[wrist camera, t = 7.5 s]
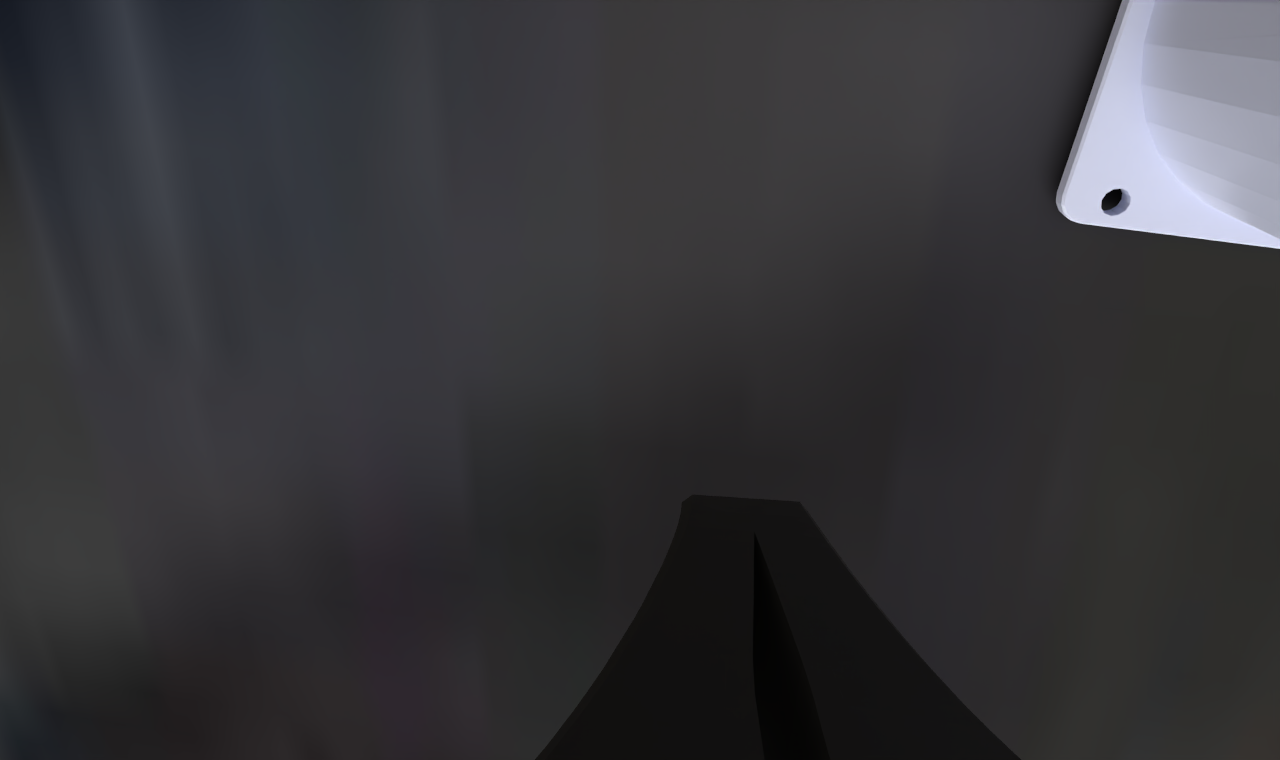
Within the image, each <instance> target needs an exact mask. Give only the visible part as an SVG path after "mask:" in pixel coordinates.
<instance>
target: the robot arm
mask: <svg viewBox="0 0 1280 760" xmlns="http://www.w3.org/2000/svg"><path fill="white" fill-rule="evenodd" d="M1113 189H1121V191H1122V199H1121V201H1120V202H1119V203H1118V205H1117V206H1116V207H1114V208H1112V209H1111V210H1105V211H1103V210H1102V208H1101V203H1102V199H1103V198H1104V196H1105V195H1106V194H1107V193H1108V192H1110V191H1111V190H1113ZM1056 203H1057V207H1058V210H1059V211H1060V212H1061V213H1062V214H1063V215H1064V216H1065V217H1067V218H1068V219H1069V220H1071V221H1074V222H1077V223H1081V224H1089V225H1097V226H1105V227H1113V228H1121V229H1128V230H1136V231H1144V232H1152V233H1160V234H1168V235H1176V236H1184V237H1192V238H1200V239H1208V240H1215V241H1223V242H1231V243H1239V244H1247V245H1255V246H1263V247H1271V248H1279V249H1280V0H1122V2H1121V5H1120V8H1119V11H1118V14H1117V17H1116V20H1115V23H1114V26H1113V29H1112V32H1111V35H1110V38H1109V41H1108V44H1107V46H1106V49H1105V52H1104V55H1103V58H1102V61H1101V64H1100V67H1099V70H1098V73H1097V76H1096V79H1095V82H1094V85H1093V88H1092V91H1091V94H1090V96H1089V99H1088V102H1087V105H1086V108H1085V111H1084V114H1083V117H1082V120H1081V123H1080V126H1079V129H1078V132H1077V135H1076V138H1075V141H1074V143H1073V146H1072V149H1071V152H1070V155H1069V158H1068V161H1067V164H1066V167H1065V170H1064V173H1063V176H1062V179H1061V182H1060V185H1059V188H1058V190H1057V196H1056ZM535 760H1021V759H1020V758H1019V757H1018V756H1017V755H1016V754H1014V753H1013V752H1012V751H1011V750H1010V749H1009V748H1008V747H1007V746H1006V745H1005V744H1004V743H1003V742H1002V741H1001V740H1000V739H998V738H997V737H996V736H995V735H994V734H993V733H992V732H991V731H990V730H989V729H988V728H987V727H986V726H985V725H984V724H983V723H982V722H981V721H980V720H979V719H978V718H977V717H976V716H975V715H974V714H973V713H972V712H971V711H970V710H969V709H968V708H967V707H966V706H965V705H964V704H963V703H962V702H961V701H960V700H959V699H958V697H957V696H956V695H955V694H954V693H953V692H952V691H951V690H950V689H949V688H948V687H947V685H946V684H945V683H944V682H943V681H942V680H941V679H940V678H939V677H938V676H937V675H936V673H935V672H934V671H933V670H932V669H931V668H930V667H929V666H928V665H927V664H926V662H925V661H924V660H923V659H922V658H921V657H920V656H919V654H918V653H917V652H916V651H915V650H914V649H913V648H912V646H911V645H910V644H909V643H908V642H907V641H906V639H905V638H904V637H903V636H902V635H901V633H900V632H899V631H898V630H897V629H896V627H895V626H894V625H893V624H892V622H891V621H890V620H889V619H888V618H887V616H886V615H885V614H884V613H883V611H882V610H881V609H880V608H879V607H878V605H877V604H876V603H875V602H874V600H873V599H872V598H871V597H870V596H869V594H868V593H867V592H866V590H865V589H864V588H863V587H862V585H861V584H860V583H859V581H858V580H857V579H856V577H855V576H854V575H853V573H852V572H851V571H850V569H849V568H848V567H847V565H846V564H845V563H844V561H843V560H842V559H841V557H840V556H839V555H838V553H837V552H836V551H835V549H834V548H833V547H832V545H831V544H830V542H829V541H828V540H827V538H826V537H825V535H824V534H823V533H822V531H821V530H820V528H819V527H818V525H817V524H816V523H815V521H814V520H813V518H812V517H811V516H810V514H809V513H808V511H807V510H806V509H805V508H804V507H803V506H802V504H801V503H800V502H794V501H779V500H764V499H749V498H734V497H719V496H704V495H692V496H690V497H689V498H687V499H686V500H685V501H683V502H682V508H681V515H680V519H679V523H678V526H677V529H676V533H675V535H674V538H673V541H672V543H671V546H670V548H669V550H668V553H667V555H666V558H665V560H664V562H663V565H662V567H661V569H660V571H659V573H658V574H657V576H656V578H655V580H654V582H653V584H652V586H651V588H650V590H649V592H648V594H647V596H646V598H645V600H644V602H643V604H642V606H641V608H640V610H639V611H638V613H637V615H636V617H635V618H634V620H633V622H632V623H631V625H630V626H629V628H628V630H627V631H626V633H625V634H624V636H623V638H622V639H621V641H620V643H619V644H618V646H617V647H616V649H615V651H614V652H613V654H612V656H611V657H610V659H609V660H608V662H607V664H606V665H605V667H604V668H603V670H602V671H601V673H600V674H599V676H598V677H597V679H596V680H595V681H594V683H593V684H592V686H591V687H590V689H589V690H588V692H587V693H586V694H585V696H584V697H583V699H582V700H581V701H580V703H579V704H578V706H577V707H576V708H575V710H574V711H573V712H572V714H571V715H570V716H569V718H568V719H567V720H566V721H565V723H564V724H563V725H562V727H561V728H560V729H559V731H558V732H557V733H556V735H555V736H554V737H553V739H552V740H551V741H550V742H549V744H548V745H547V746H546V747H545V749H544V750H543V751H542V752H541V753H540V755H539V756H538V757H537V758H536V759H535Z"/></svg>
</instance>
